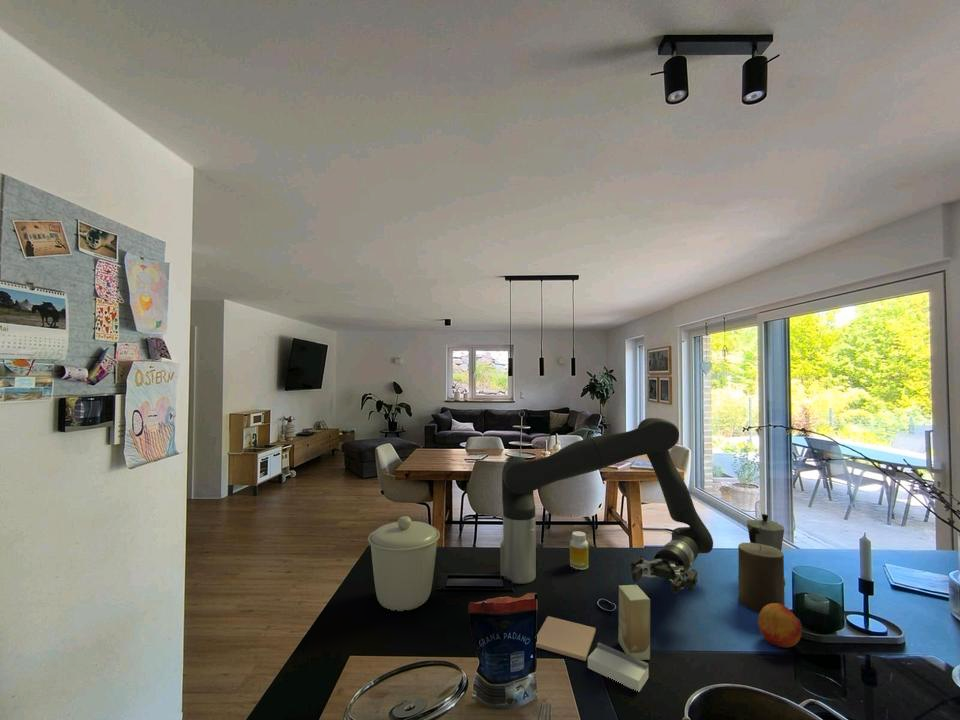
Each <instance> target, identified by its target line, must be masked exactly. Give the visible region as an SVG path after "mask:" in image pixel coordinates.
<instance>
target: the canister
mask: <svg viewBox="0 0 960 720" xmlns="http://www.w3.org/2000/svg"><path fill="white" fill-rule="evenodd" d="M440 536H441V533H440V531H439V529H437V528H436V527H434V526H432V524H431V525H430V524H429V523H426V522H423V521H415V520H412V519H411V517H409V516H408V515H405V516H404V515H403V516H400V517H398V519H397V521H395V522H389V523H387V524H384V525H381V526H379V527H378V528H376V529H375V530H373V531H372V532H371V533H370V534H369V535H368V537H367V542H368V544H369V545H370V550H371V561H372V571H373V581H374V587H375V588H374V589H375V593H376V598H377V601H378V602H379V604H380V605H381V607H383V608H385V609H386V608H387V610H388V609H390V610H389V611H395V610H397V611H395V612H405V611H404V610H407V611H411V610H414V609H417V608H419V606H420V607H421V606H423V605H424V604H425V603H426V602H427V600H428V599H429V597H430V595H431V592H432V587H433V580H434V573H435V564H436V556H437V545H438V540H439V539H440ZM422 604H423V605H422Z"/></svg>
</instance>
